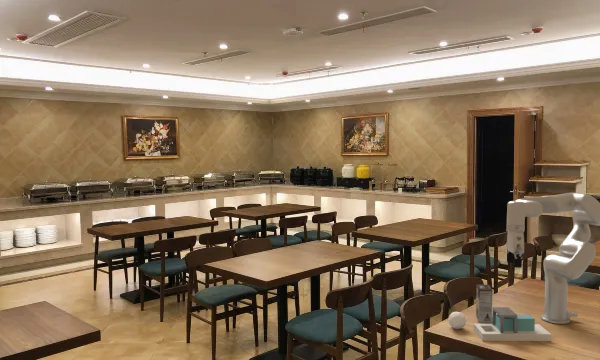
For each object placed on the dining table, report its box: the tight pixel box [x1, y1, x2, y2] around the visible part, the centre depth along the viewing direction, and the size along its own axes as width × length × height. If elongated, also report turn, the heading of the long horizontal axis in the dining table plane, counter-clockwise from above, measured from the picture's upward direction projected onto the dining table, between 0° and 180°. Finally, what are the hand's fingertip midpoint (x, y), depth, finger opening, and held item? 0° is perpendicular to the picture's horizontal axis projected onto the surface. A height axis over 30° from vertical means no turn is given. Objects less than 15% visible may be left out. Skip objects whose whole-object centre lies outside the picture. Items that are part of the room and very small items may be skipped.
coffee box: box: [475, 284, 493, 324], centre depth 234 cm, size 9×6×16 cm
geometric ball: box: [447, 311, 467, 330], centre depth 223 cm, size 8×8×8 cm
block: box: [496, 314, 536, 331], centre depth 214 cm, size 15×5×6 cm, turn 87°
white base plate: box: [473, 323, 552, 342], centre depth 214 cm, size 29×12×3 cm, turn 87°
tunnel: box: [491, 306, 518, 333], centre depth 214 cm, size 7×10×8 cm
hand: (514, 264), depth 222 cm, fingers open, 9 cm apart
